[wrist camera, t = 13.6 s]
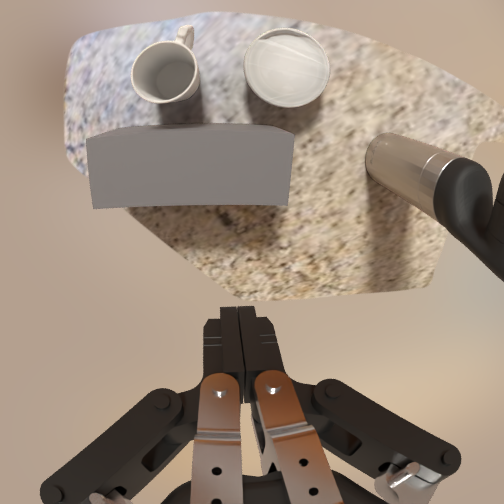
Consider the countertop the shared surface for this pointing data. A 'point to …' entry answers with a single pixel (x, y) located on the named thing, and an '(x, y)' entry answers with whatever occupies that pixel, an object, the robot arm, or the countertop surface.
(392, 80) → the countertop surface
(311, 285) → the countertop surface
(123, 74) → the countertop surface
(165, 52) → the mug
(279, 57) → the ramekin
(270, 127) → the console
